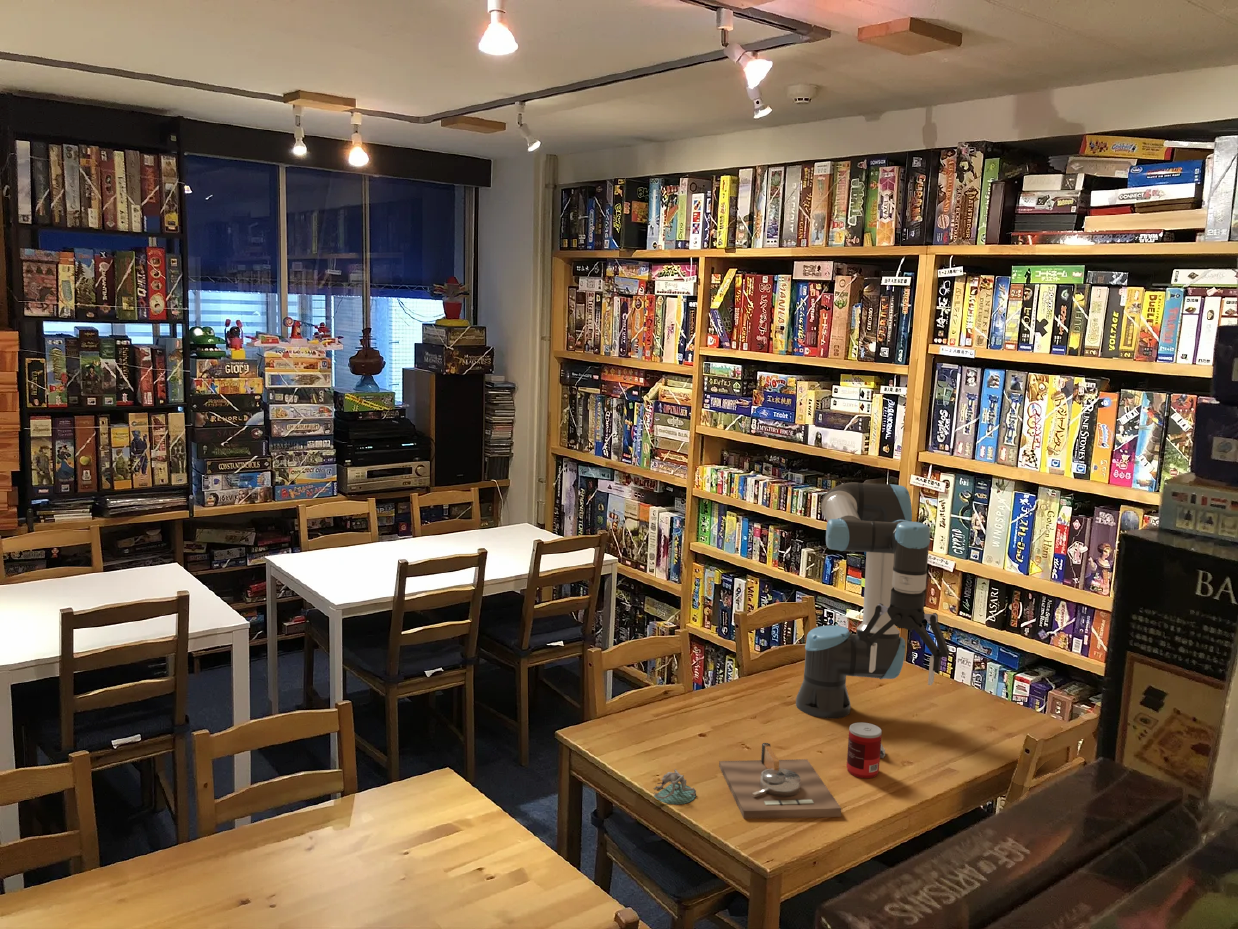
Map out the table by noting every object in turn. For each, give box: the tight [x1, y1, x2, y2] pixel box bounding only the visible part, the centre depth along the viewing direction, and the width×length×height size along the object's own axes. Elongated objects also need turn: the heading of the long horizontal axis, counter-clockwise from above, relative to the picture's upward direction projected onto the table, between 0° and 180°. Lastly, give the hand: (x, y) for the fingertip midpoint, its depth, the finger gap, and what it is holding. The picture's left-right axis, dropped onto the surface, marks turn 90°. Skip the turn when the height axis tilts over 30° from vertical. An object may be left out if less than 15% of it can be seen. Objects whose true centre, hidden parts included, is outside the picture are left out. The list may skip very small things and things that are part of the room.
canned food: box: [846, 722, 883, 779], centre depth 231 cm, size 8×8×11 cm
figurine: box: [653, 768, 697, 806], centre depth 216 cm, size 11×12×6 cm
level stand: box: [718, 758, 842, 820], centre depth 220 cm, size 24×22×2 cm
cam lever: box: [752, 742, 801, 797], centre depth 222 cm, size 18×12×5 cm
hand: (901, 677), depth 223 cm, fingers open, 13 cm apart
